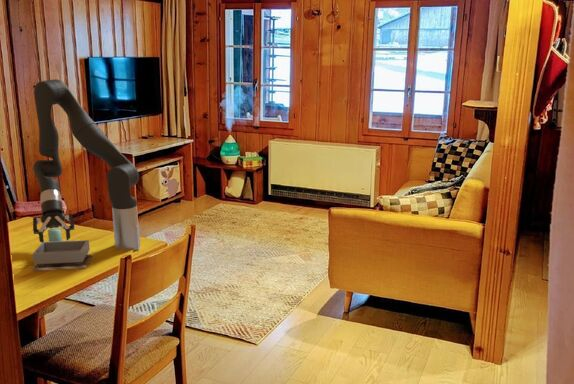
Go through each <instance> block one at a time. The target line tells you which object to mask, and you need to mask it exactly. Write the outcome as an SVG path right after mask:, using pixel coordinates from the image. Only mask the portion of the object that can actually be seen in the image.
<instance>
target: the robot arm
mask: <svg viewBox="0 0 574 384" xmlns="http://www.w3.org/2000/svg"><path fill="white" fill-rule="evenodd" d="M33 96H34V103H35V109H36V110H35V111H36V116H37V122H38V124H37V125H38V131H39V133H38V135H39V136H38V153H39V154H40V155H41V156H42V157H47V158H50V159H39V160H36V161H35V162H34V163H33V167H32V169H33V174H34V176H35V178H36V180H37V181H38V184H39V190H40V191H39V193H40V209H41V217H40V218H39V217H38V218H37V217H36V216H34V217H33V218H32V231H33V235H38V239H39V240H38V241H39V243H42V242H45V240H44V232H45V231H48V230H47V229H54V228H60V229H61V230H62V229H63V230H64V231H65V237H66V241H70V239H71V231H74V230H75V223H74V217H73V214H72V213H69V214H67V215H65V214H64V209H63V200H62V195H61V188H60V182H59V181H58V179H57V178H59V177H61V175H62V174H63V166H62V162H61V159H60V155H59V143H60V141H59V139H60V137H59V132H58V129H57V128H56V125H55V123H54V121H53V118H52V109H53V108H52V107H53V105H58V106H59V107H60V108H62V110H63V111H64V113H65V114H66V115H67V117H68V120H69V127H70V129H71V133H72V135H73V137H74V138H75V139H76V140H77V141H78V143H79V144H80V145H81V146H82V148H84V149H85V150H86V151H87V152H89V153H91V154H92V155H94V156H96V157H97V158H99V159H101V161H104V162H105V163H106V164H107V165H108V166H109V167H110V169H109V170H108V172H107V174H106V184H107V191H108V192H107V193H108V198H109V201H110V203H111V209H112V210H111V211H112V222H113V223H112V226H113V237H114V248H116V249H117V250H122V251H123V250H125V251H127V250H133V252H134V251H139V250H140V247H141V235H140V233H141V232H140V222H139V217H138V214H139V213H138V201H137V198H136V197H134V196H132V194H131V187H133V186H136V185H137V184H138V183H139V181H140V173H139V171H138V169H137V168H136V166H135V165H134V164H133V163H132V162H131V161H130V160H129V159H127V157H126V156H125V155H124V154H123V153H121V152H120V151H119V149H118V148H117V147H116V146H115V145H114V143H113V142H112V141H111V140H110V139H109V138H108V137H107V136H106V134H105V133H104V132H103V130H102V129H101V128H100V127H99V126H98V124H97V123H95V121H94V120H93V119H92V118H91V117H90V116H89V114H88V113H87V112H86V111H85V109H84V108H83V106H82V105H81V104H80V102H78V100H77V98H76V97H75V96H74V93H72V91H71V89H70V88H69V87H68V86H67V84H66V83H64V81H62V80H60V79H57V78H55V79H49V80H40V81H39V82H37V83H36V84H35V85H34V88H33ZM65 220H67V221H68V222H69V225H68V224H67V223H66V222H65ZM40 222H41V223H42V225H41V227H40V228H39V229H38V225H39V224H40Z"/></svg>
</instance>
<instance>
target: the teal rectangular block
mask: <svg viewBox="0 0 574 384" xmlns="http://www.w3.org/2000/svg"><path fill="white" fill-rule="evenodd" d="M47 234H48V242H55V241H63V237H62V236H63V235H62V228H60V227H58V228H49V229H48V230H47Z"/></svg>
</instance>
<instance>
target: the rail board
mask: <svg viewBox="0 0 574 384" xmlns="http://www.w3.org/2000/svg"><path fill="white" fill-rule="evenodd" d="M93 256H94V254H93V253H88V254H87V256H86V257H85V259H84V260H83V262H82V265H81V266H74V263H75V262H70V263H48V264H46V266H45V267H43V268H38V264H35V266H34V267H32V268H31V272H38V271H39V272H41V271H60V270H61V271H63V270H81V269H84V270H85V269H87V268H88V266H89V264H90V263H91V261H92V259H93Z"/></svg>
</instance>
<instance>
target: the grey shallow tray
mask: <svg viewBox="0 0 574 384" xmlns="http://www.w3.org/2000/svg"><path fill="white" fill-rule="evenodd" d="M90 250H91V249H90V240H89V239H87V240H86V239H85V240H84V239H83V240H82V239H81V240H62V241H55V242H49V241H44V242H40V245H39V246H38V247H36V249H35V250H34V251H33V253H32V261H33V265H37V264H38V268H43V267H45V266H46V264H48V263H70V262H75V263H74V266H81V265H82V262H83V260H84V259H85V257H86V256H87V254H89V251H90Z"/></svg>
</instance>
